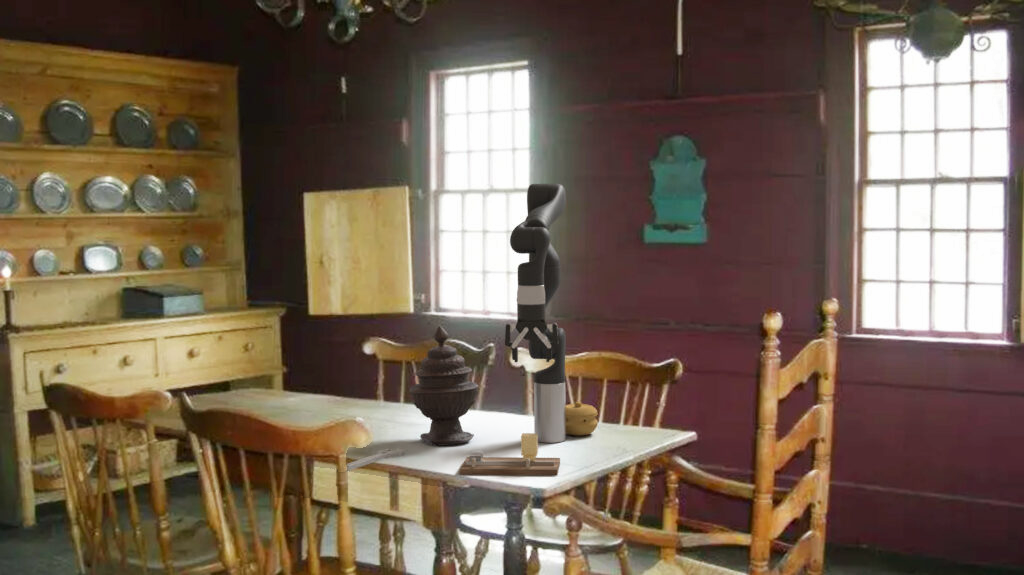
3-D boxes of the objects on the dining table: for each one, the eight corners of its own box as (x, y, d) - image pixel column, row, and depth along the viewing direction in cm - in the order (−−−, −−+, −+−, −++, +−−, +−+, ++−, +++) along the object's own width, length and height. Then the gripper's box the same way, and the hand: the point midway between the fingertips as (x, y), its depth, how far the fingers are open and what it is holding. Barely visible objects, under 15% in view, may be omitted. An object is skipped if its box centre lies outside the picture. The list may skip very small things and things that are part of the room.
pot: (595, 438, 327) (595, 405, 326) (556, 437, 329) (555, 404, 329) (600, 431, 338) (599, 399, 338) (562, 430, 341) (561, 398, 340)
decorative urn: (496, 436, 329) (485, 319, 325) (455, 453, 312) (443, 330, 309) (443, 432, 340) (431, 320, 337) (400, 448, 324) (388, 330, 320)
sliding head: (523, 458, 292) (522, 432, 291) (538, 459, 291) (538, 432, 291) (521, 464, 285) (520, 437, 285) (536, 464, 285) (536, 437, 284)
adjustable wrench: (346, 473, 288) (346, 467, 288) (328, 471, 291) (327, 464, 291) (406, 455, 309) (406, 448, 309) (388, 453, 312) (388, 446, 312)
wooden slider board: (467, 462, 297) (466, 447, 296) (560, 463, 294) (559, 448, 294) (459, 474, 283) (459, 459, 283) (557, 475, 280) (557, 459, 280)
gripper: (558, 300, 298) (559, 359, 300) (506, 300, 300) (506, 359, 301) (557, 303, 291) (557, 364, 292) (503, 303, 292) (504, 364, 294)
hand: (532, 361), depth 297 cm, fingers open, 8 cm apart
